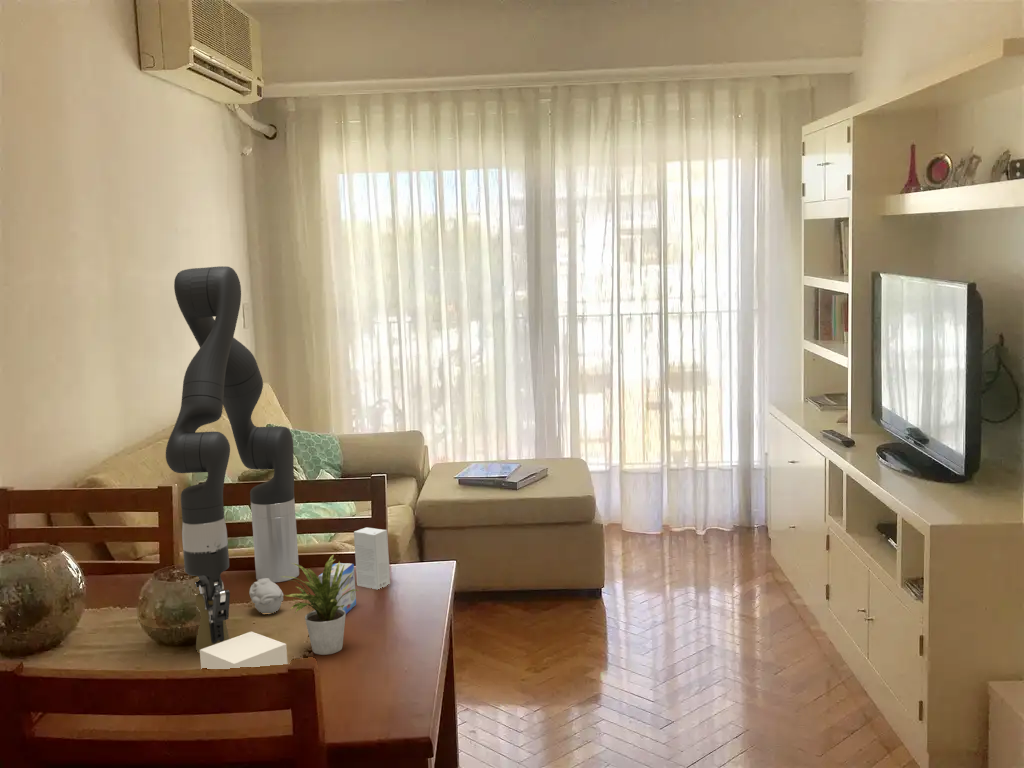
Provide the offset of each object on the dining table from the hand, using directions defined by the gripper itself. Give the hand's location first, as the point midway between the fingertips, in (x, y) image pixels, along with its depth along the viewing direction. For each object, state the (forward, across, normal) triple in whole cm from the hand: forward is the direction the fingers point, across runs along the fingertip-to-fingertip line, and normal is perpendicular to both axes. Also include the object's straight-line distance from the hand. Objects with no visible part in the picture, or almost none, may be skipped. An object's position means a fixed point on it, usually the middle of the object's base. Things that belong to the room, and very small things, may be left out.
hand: (212, 637), depth 169 cm
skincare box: (+2, -11, +39) cm, 41 cm away
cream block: (+3, +14, 0) cm, 14 cm away
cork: (+2, 0, 0) cm, 2 cm away
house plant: (+2, +12, +16) cm, 20 cm away
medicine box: (+3, -2, +26) cm, 26 cm away
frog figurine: (+3, -11, +15) cm, 19 cm away
